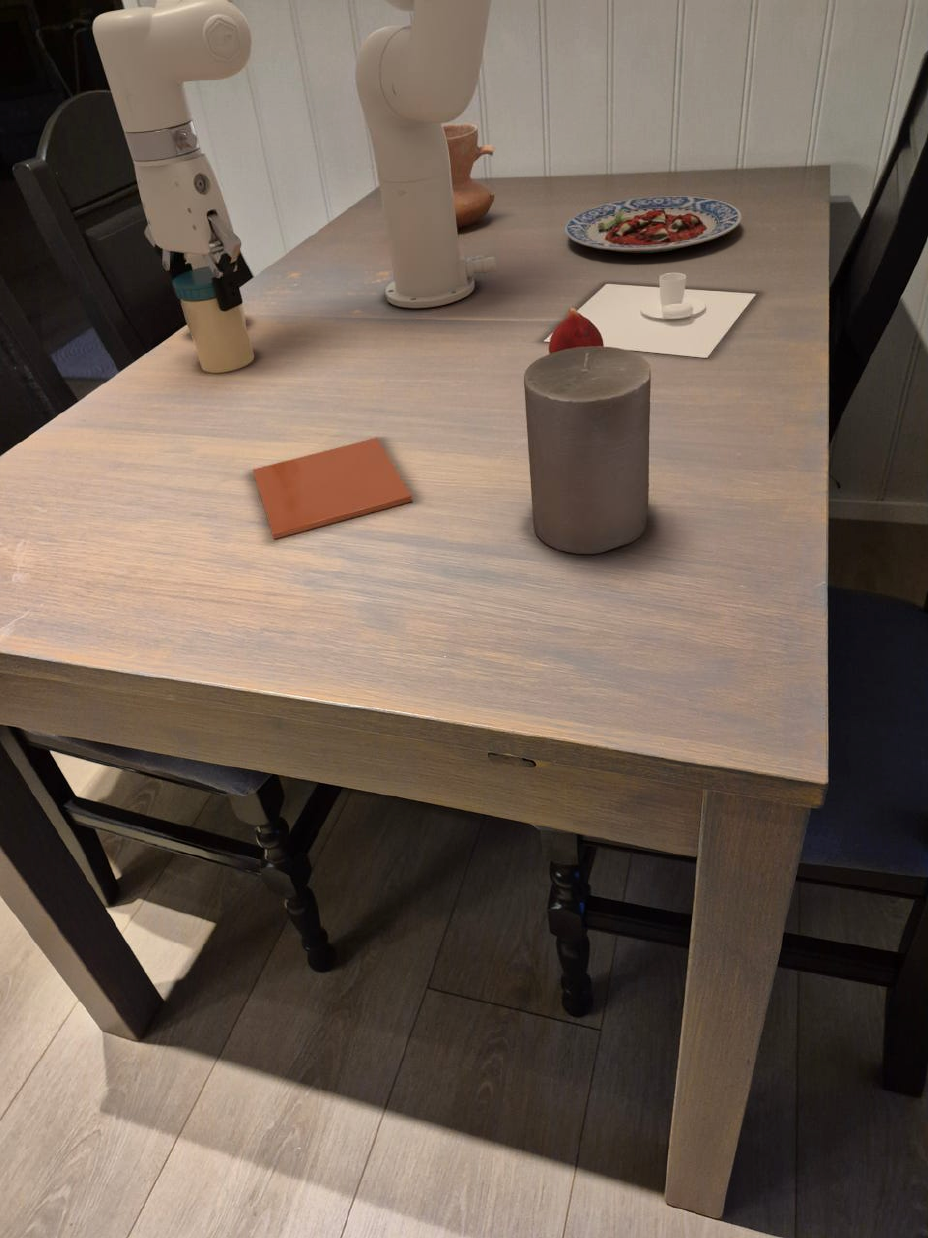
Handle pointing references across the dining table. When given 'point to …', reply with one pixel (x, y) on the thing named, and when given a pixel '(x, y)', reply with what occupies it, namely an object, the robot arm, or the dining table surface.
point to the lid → (195, 284)
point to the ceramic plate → (653, 223)
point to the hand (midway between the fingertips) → (210, 302)
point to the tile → (329, 487)
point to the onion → (575, 333)
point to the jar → (218, 335)
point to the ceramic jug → (467, 173)
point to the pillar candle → (588, 447)
